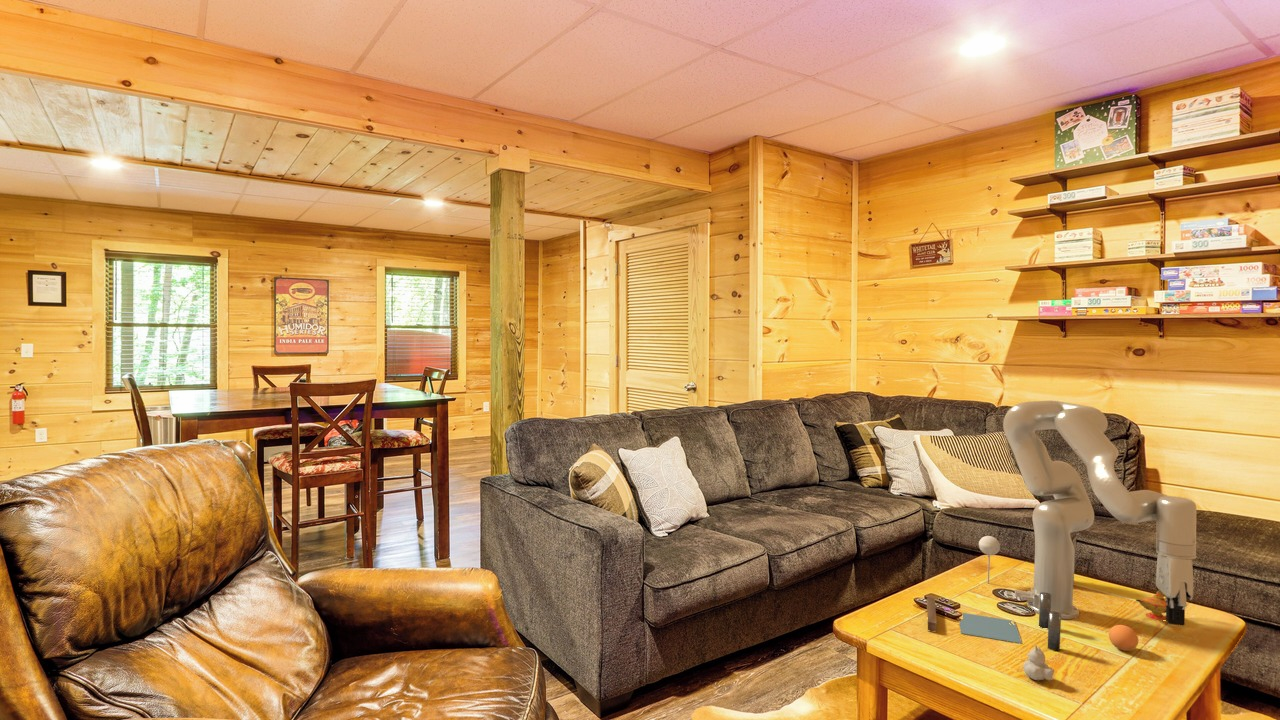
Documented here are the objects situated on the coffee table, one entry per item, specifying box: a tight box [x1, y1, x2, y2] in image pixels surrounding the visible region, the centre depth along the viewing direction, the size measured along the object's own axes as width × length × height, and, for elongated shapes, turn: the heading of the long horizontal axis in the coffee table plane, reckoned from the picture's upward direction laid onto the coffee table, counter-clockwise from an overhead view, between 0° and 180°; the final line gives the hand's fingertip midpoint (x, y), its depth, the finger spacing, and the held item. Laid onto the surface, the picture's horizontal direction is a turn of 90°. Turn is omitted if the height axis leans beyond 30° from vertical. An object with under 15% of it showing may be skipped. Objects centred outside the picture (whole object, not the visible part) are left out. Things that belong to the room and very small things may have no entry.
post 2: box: [1047, 611, 1062, 652], centre depth 165 cm, size 3×3×9 cm
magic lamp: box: [1135, 590, 1167, 622], centre depth 183 cm, size 7×18×11 cm, turn 118°
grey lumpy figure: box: [1022, 643, 1055, 681], centre depth 151 cm, size 5×7×8 cm
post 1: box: [1038, 592, 1051, 629], centre depth 177 cm, size 3×3×9 cm
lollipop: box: [978, 535, 1001, 584], centre depth 208 cm, size 6×6×15 cm
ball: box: [1108, 624, 1139, 652], centre depth 165 cm, size 6×6×6 cm
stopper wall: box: [926, 596, 937, 632], centre depth 182 cm, size 2×18×2 cm, turn 157°
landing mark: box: [958, 612, 1023, 645], centre depth 177 cm, size 14×14×1 cm
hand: (1175, 623), depth 160 cm, fingers closed
